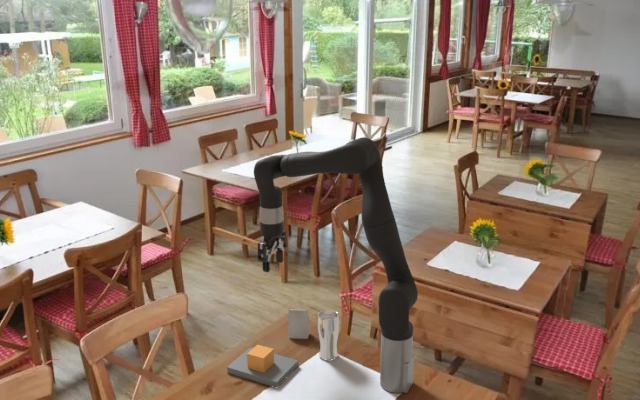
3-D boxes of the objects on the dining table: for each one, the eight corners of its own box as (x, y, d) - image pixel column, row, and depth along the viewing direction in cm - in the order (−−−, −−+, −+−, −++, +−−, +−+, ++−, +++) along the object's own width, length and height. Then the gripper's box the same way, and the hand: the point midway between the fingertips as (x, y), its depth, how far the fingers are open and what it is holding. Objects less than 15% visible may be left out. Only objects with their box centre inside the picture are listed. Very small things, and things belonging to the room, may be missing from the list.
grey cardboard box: (307, 339, 203) (307, 312, 200) (288, 338, 204) (287, 311, 201) (309, 333, 207) (308, 307, 204) (290, 332, 207) (289, 306, 204)
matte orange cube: (274, 362, 185) (273, 348, 184) (264, 372, 180) (263, 358, 179) (258, 358, 188) (257, 344, 187) (247, 367, 183) (246, 353, 182)
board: (298, 366, 187) (297, 350, 186) (276, 387, 176) (276, 371, 175) (250, 352, 195) (249, 337, 194) (227, 372, 184) (226, 357, 182)
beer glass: (339, 350, 196) (339, 309, 191) (338, 362, 189) (338, 320, 185) (318, 349, 196) (318, 309, 192) (316, 361, 190) (316, 319, 185)
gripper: (270, 227, 178) (272, 277, 183) (292, 214, 190) (293, 260, 195) (249, 224, 181) (251, 272, 186) (272, 211, 194) (274, 257, 198)
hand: (273, 266), depth 191 cm, fingers open, 8 cm apart
